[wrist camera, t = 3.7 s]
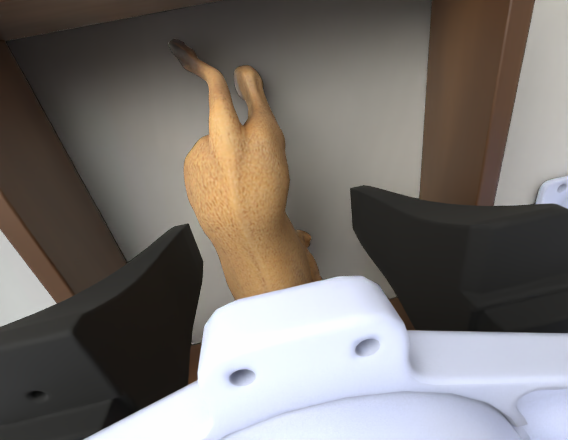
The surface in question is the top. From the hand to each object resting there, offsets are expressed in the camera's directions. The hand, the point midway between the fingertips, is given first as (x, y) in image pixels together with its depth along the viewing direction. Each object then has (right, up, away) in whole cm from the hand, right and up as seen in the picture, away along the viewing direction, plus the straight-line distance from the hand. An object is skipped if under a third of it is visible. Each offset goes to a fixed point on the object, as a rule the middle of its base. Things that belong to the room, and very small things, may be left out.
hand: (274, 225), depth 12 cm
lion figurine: (0, +1, +2) cm, 2 cm away
